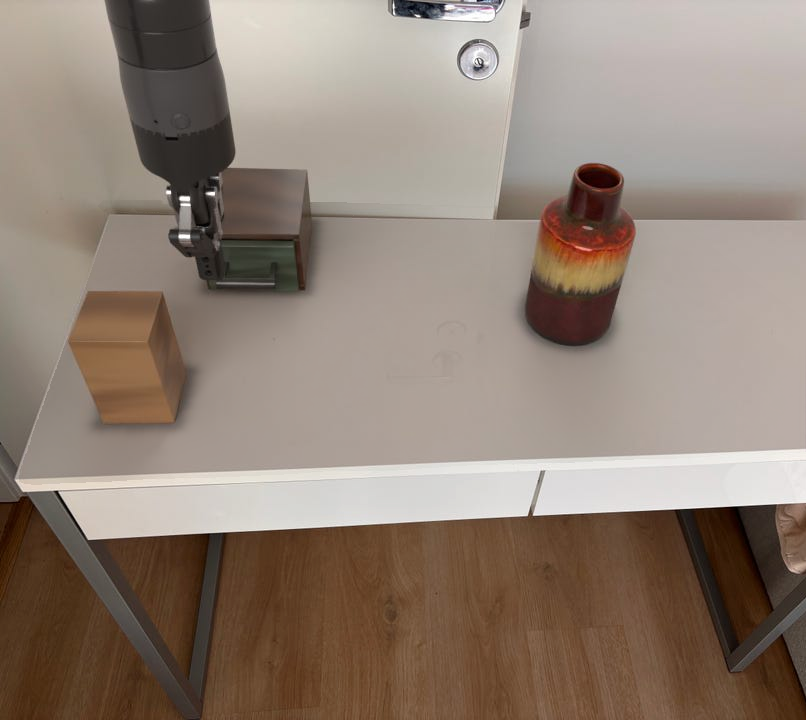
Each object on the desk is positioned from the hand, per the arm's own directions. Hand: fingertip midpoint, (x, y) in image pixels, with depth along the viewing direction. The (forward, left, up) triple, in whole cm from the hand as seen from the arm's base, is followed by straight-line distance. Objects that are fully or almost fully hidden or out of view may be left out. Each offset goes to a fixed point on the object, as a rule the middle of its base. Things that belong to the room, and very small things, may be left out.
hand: (213, 275), depth 72 cm
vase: (+39, -10, -15) cm, 43 cm away
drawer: (+9, +16, -14) cm, 23 cm away
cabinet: (+11, +19, -15) cm, 27 cm away
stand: (-9, +2, -15) cm, 18 cm away
